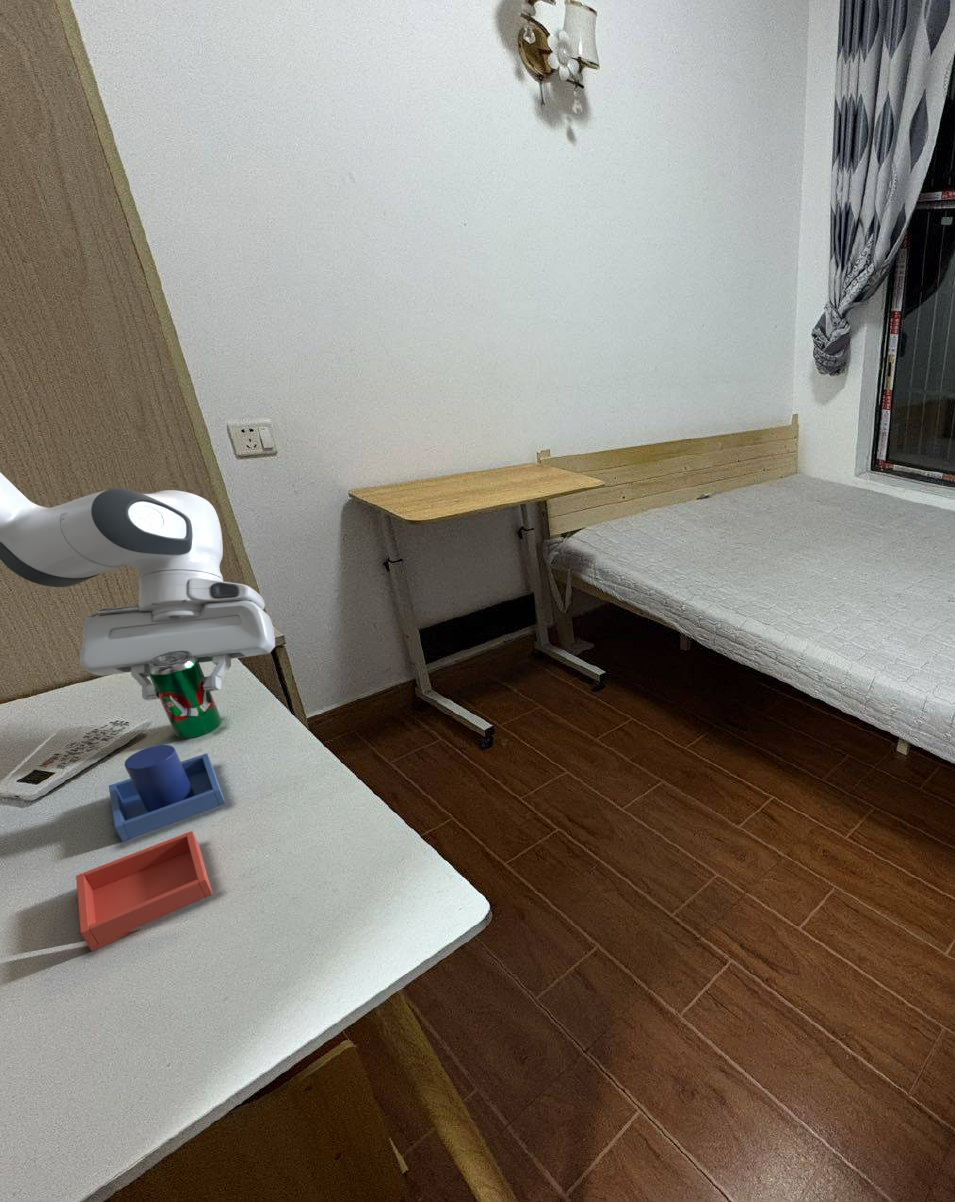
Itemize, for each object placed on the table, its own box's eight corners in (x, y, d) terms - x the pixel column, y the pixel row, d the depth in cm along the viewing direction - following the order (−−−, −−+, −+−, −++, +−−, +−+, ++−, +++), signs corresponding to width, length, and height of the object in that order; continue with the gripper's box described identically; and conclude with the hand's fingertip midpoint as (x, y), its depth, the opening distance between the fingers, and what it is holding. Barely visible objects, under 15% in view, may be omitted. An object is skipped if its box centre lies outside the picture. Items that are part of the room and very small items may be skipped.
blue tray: (123, 845, 74) (114, 827, 73) (117, 802, 80) (108, 785, 79) (226, 806, 81) (219, 789, 79) (214, 769, 86) (207, 752, 85)
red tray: (91, 951, 63) (80, 933, 62) (86, 893, 69) (75, 875, 68) (214, 897, 69) (205, 879, 68) (200, 847, 75) (192, 830, 74)
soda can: (213, 715, 96) (185, 645, 91) (229, 727, 94) (201, 656, 88) (170, 732, 92) (137, 660, 87) (185, 746, 90) (153, 672, 84)
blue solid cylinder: (138, 817, 78) (115, 771, 74) (157, 792, 81) (136, 747, 78) (184, 810, 79) (163, 765, 76) (200, 786, 83) (181, 742, 80)
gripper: (69, 603, 86) (65, 704, 82) (261, 584, 94) (265, 675, 91) (98, 617, 92) (95, 713, 88) (277, 599, 100) (281, 685, 96)
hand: (183, 694), depth 89 cm, fingers closed on soda can, 5 cm apart
